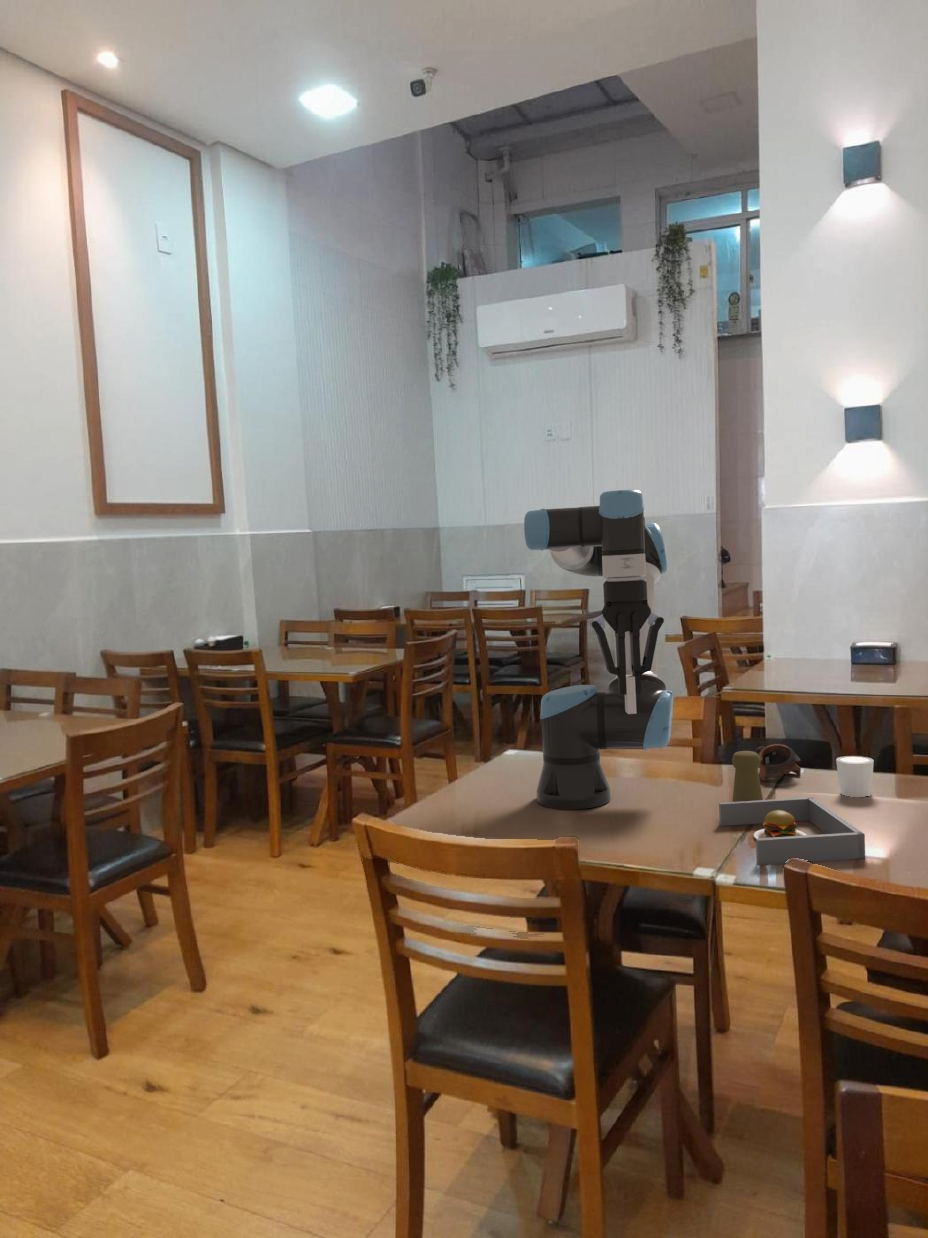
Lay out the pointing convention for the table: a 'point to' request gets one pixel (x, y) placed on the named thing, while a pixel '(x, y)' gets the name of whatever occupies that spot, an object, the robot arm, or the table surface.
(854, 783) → the white cup
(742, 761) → the olive green pepper shaker
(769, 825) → the hamburger
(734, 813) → the box
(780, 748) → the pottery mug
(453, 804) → the table surface
